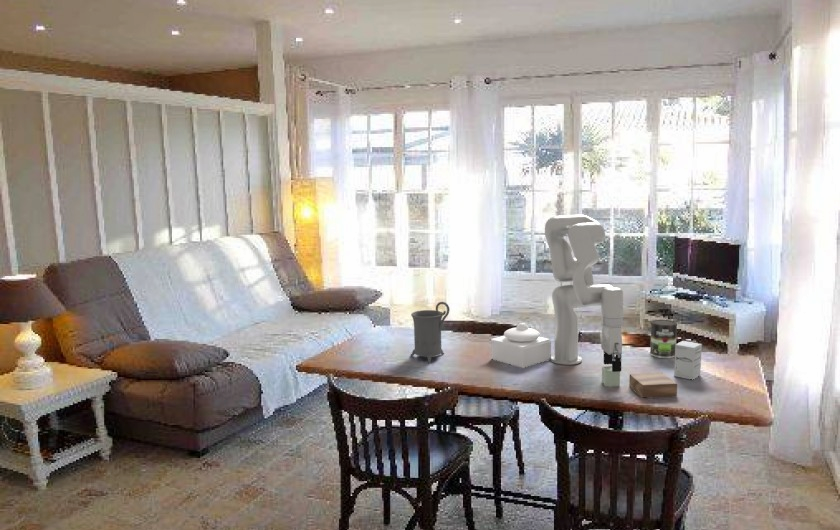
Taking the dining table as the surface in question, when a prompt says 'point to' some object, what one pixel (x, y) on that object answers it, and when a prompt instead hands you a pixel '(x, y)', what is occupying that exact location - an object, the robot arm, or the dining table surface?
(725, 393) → the dining table surface
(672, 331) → the coffee can
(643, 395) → the walnut box
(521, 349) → the white lidded container
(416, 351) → the mug
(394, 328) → the dining table surface
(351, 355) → the dining table surface
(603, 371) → the green block
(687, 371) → the supplement box
